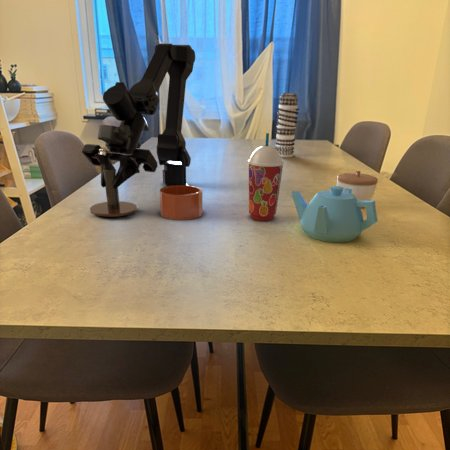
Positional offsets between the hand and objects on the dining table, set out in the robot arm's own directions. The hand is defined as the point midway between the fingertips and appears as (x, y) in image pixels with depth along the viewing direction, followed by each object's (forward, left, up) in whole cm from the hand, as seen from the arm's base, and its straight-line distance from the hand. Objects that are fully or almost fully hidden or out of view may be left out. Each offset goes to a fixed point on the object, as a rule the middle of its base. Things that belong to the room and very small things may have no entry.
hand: (108, 187), depth 105 cm
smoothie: (-35, +15, -7) cm, 39 cm away
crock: (-17, +5, -7) cm, 19 cm away
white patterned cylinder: (-88, -64, -7) cm, 109 cm away
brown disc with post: (-1, -1, -6) cm, 6 cm away
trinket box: (-65, +13, -7) cm, 67 cm away
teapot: (-44, +31, -7) cm, 54 cm away
